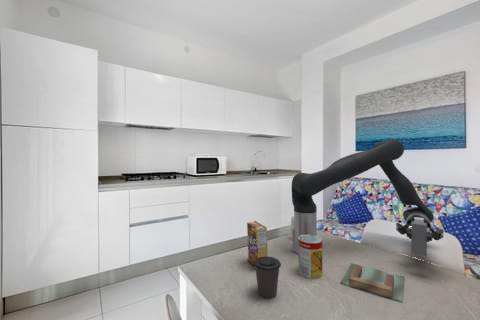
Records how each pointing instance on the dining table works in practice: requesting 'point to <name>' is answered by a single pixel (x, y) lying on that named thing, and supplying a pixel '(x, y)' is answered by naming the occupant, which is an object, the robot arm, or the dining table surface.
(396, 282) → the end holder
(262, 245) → the candy box
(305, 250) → the canned food
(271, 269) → the coffee cup
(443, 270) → the dining table surface
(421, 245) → the connector plug
